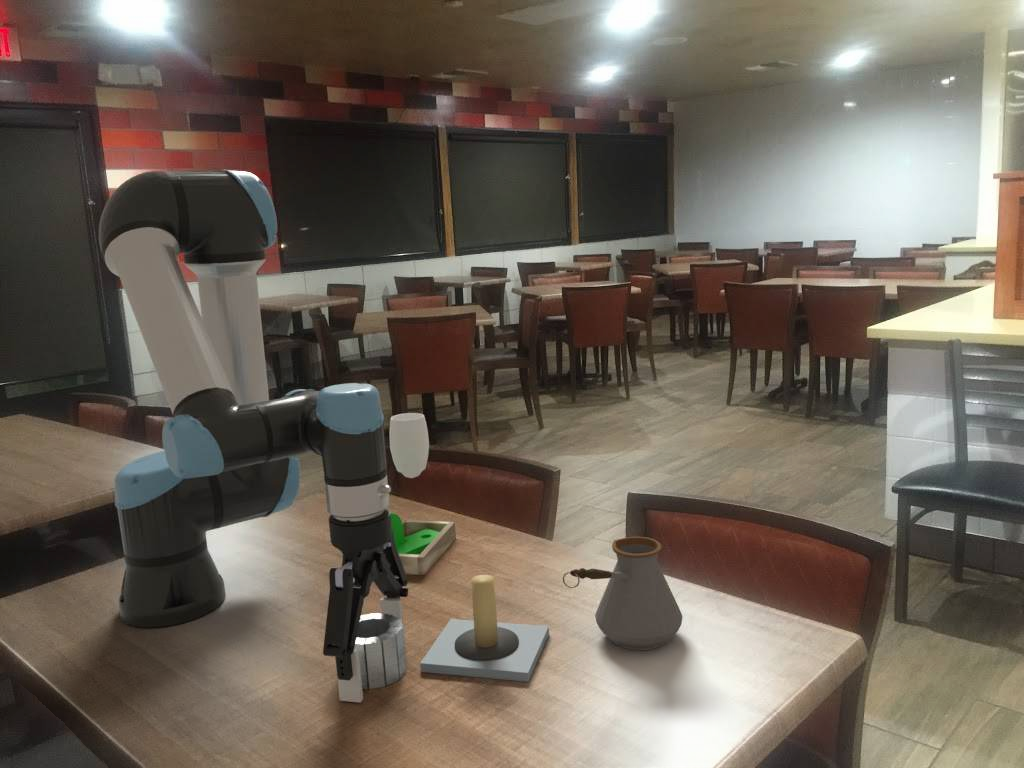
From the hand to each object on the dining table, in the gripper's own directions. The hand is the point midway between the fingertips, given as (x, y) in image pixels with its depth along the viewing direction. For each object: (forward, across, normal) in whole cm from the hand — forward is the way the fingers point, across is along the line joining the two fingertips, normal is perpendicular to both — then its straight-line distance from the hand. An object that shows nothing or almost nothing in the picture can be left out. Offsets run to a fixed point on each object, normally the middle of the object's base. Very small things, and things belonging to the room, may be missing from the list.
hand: (374, 670), depth 107 cm
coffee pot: (+1, +10, -30) cm, 32 cm away
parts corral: (0, +37, +9) cm, 38 cm away
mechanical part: (0, +37, +9) cm, 38 cm away
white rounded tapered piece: (0, +51, +14) cm, 53 cm away
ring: (0, 0, 0) cm, 0 cm away
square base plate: (0, +7, -13) cm, 15 cm away
